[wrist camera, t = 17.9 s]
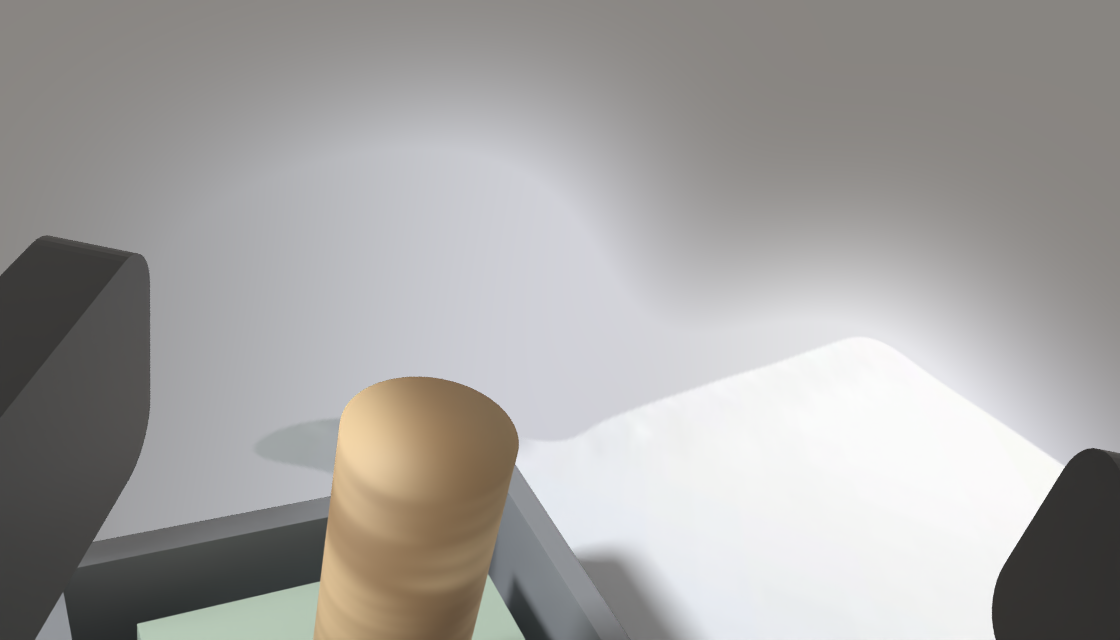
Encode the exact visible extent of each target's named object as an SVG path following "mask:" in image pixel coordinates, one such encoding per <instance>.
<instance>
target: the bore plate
mask: <svg viewBox="0 0 1120 640" xmlns="http://www.w3.org/2000/svg"><path fill="white" fill-rule="evenodd" d="M319 587H320V582H315V583H311V584H307V585H302V586H298V587H294V588H290V589H285V590H281V591H277V592H272V593H268V594H264V595H259V596H255V597H251V598H247V599H242V600H238V601H234V602H229V603H225V604H221V605H216V606H212V607H208V608H203V609H199V610H195V611H191V612H186V613H182V614H178V615H173V616H169V617H165V618H160V619H156V620H152V621H148V622H143V623H139V624H137V640H313V636H314V628H315V620H316V612H317V604H318V596H319ZM472 640H525V638H524V636H523V635H522V633H521V631H520V629H519V627H518V626H517V624H516V622H515V620H514V619H513V617H512V615H511V613H510V612H509V610H508V608H507V606H506V605H505V603H504V601H503V599H502V597H501V596H500V594H499V592H498V590H497V589H496V587H495V585H494V583H493V582H492V580H491V578H490V576H489V575H487V579H486V583H485V587H484V592H483V596H482V600H481V604H480V608H479V612H478V616H477V620H476V624H475V628H474V632H473V636H472Z"/></svg>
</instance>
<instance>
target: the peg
mask: <svg viewBox="0 0 1120 640" xmlns="http://www.w3.org/2000/svg"><path fill="white" fill-rule="evenodd" d="M518 448H519V440H518V435H517V432H516V429H515V426H514V424H513V422H512V421H511V419H510V417H509V416H508V415H507V414H506V412H505V411H504V410H503V409H502V408H501V407H500V406H499V405H497V404H496V403H495V402H494V401H493V400H491V399H490V398H488V397H487V396H485V395H484V394H482V393H480V392H478V391H476V390H474V389H472V388H470V387H467V386H464V385H462V384H459V383H456V382H452V381H448V380H443V379H438V378H431V377H403V378H396V379H391V380H386V381H383V382H379V383H377V384H374V385H372V386H370V387H368V388H366V389H364V390H363V391H361V392H360V393H358V394H357V395H356V396H355V397H353V399H352V400H351V401H350V402H349V403H348V404H347V406H346V407H345V409H344V411H343V414H342V415H341V420H340V426H339V434H338V442H337V450H336V458H335V466H334V474H333V483H332V491H331V498H330V507H329V515H328V523H327V531H326V539H325V547H324V555H323V563H322V571H321V579H320V587H319V596H318V604H317V612H316V620H315V628H314V636H313V640H472V636H473V632H474V628H475V624H476V620H477V616H478V612H479V608H480V604H481V600H482V596H483V592H484V587H485V583H486V579H487V575H488V571H489V567H490V563H491V559H492V555H493V551H494V547H495V543H496V539H497V535H498V531H499V527H500V522H501V518H502V514H503V510H504V506H505V502H506V498H507V494H508V490H509V486H510V482H511V478H512V474H513V470H514V466H515V462H516V457H517V453H518Z"/></svg>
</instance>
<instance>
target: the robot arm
mask: <svg viewBox="0 0 1120 640" xmlns="http://www.w3.org/2000/svg"><path fill="white" fill-rule="evenodd" d="M149 411H150V277H149V270H148V265H147V262H146V260H145V258H144V257H143V256H142V255H141V254H137V253H132V252H127V251H122V250H117V249H112V248H107V247H102V246H98V245H92V244H88V243H83V242H78V241H73V240H68V239H63V238H58V237H53V236H42V237H40V238H38V239H37V240H36V241H34V242H33V243H32V244H31V245H30V246H29V247H28V248H27V249H26V250H25V251H24V252H23V253H22V254H21V255H20V256H19V257H18V258H17V260H15V261H14V262H13V263H12V264H11V265H10V266H9V268H8V269H7V270H6V271H5V272H4V273H3V274H2V275H1V276H0V640H35V639H36V637H37V636H38V634H39V632H40V630H41V629H42V627H43V625H44V624H45V622H46V620H47V618H48V617H49V615H50V613H51V612H52V610H53V608H54V607H55V605H56V603H57V601H58V600H59V598H60V596H61V595H62V593H63V591H64V589H65V588H66V586H67V584H68V583H69V581H70V579H71V577H72V576H73V574H74V572H75V571H76V569H77V567H78V566H79V564H80V562H81V560H82V559H83V557H84V555H85V554H86V552H87V550H88V548H89V547H90V545H91V543H92V542H93V540H94V538H95V537H96V535H97V533H98V531H99V530H100V528H101V526H102V524H103V523H104V521H105V519H106V518H107V516H108V514H109V513H110V511H111V509H112V507H113V506H114V504H115V502H116V501H117V499H118V497H119V496H120V494H121V492H122V490H123V489H124V487H125V485H126V484H127V481H128V480H129V478H130V476H131V475H132V472H133V470H134V468H135V466H136V464H137V461H138V458H139V456H140V453H141V449H142V446H143V443H144V439H145V435H146V430H147V425H148V419H149ZM992 622H993V629H994V635H995V638H996V640H1120V453H1115V452H1110V451H1105V450H1100V449H1095V448H1091V449H1086V450H1083V451H1081V452H1080V453H1078V454H1077V455H1075V456H1074V457H1073V458H1072V459H1071V460H1070V461H1069V463H1068V464H1067V465H1066V466H1065V468H1064V469H1063V471H1062V473H1061V474H1060V476H1059V477H1058V479H1057V481H1056V482H1055V484H1054V485H1053V487H1052V489H1051V490H1050V492H1049V494H1048V495H1047V497H1046V498H1045V500H1044V502H1043V503H1042V505H1041V506H1040V508H1039V510H1038V511H1037V513H1036V514H1035V516H1034V518H1033V519H1032V521H1031V522H1030V524H1029V526H1028V527H1027V529H1026V530H1025V532H1024V534H1023V535H1022V537H1021V539H1020V540H1019V542H1018V543H1017V545H1016V547H1015V548H1014V550H1013V551H1012V553H1011V555H1010V556H1009V558H1008V559H1007V561H1006V563H1005V564H1004V566H1003V568H1002V570H1001V572H1000V574H999V576H998V579H997V582H996V586H995V589H994V595H993V603H992Z"/></svg>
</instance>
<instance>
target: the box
mask: <svg viewBox="0 0 1120 640" xmlns="http://www.w3.org/2000/svg"><path fill="white" fill-rule="evenodd" d="M330 498H331V496H330V497H325V498H319V499H314V500H309V501H304V502H299V503H294V504H288V505H283V506H278V507H272V508H267V509H262V510H257V511H252V512H247V513H241V514H236V515H231V516H226V517H221V518H216V519H211V520H205V521H200V522H195V523H189V524H185V525H179V526H174V527H169V528H163V529H158V530H154V531H148V532H143V533H137V534H132V535H127V536H122V537H117V538H111V539H106V540H102V541H96V542H92V543H91V545H90V547H89V548H88V550H87V552H86V554H85V555H84V557H83V559H82V560H81V562H80V564H79V566H78V567H77V569H76V571H75V572H74V574H73V576H72V577H71V579H70V581H69V583H68V584H67V586H66V588H65V589H64V591H63V593H62V595H61V596H60V598H59V600H58V601H57V603H56V605H55V607H54V608H53V610H52V612H51V613H50V615H49V617H48V618H47V620H46V622H45V624H44V625H43V627H42V629H41V630H40V632H39V634H38V636H37V637H36V639H35V640H137V624H139V623H143V622H148V621H152V620H156V619H160V618H165V617H169V616H173V615H178V614H182V613H186V612H191V611H195V610H199V609H203V608H208V607H212V606H216V605H221V604H225V603H229V602H234V601H238V600H242V599H247V598H251V597H255V596H259V595H264V594H268V593H272V592H277V591H281V590H285V589H290V588H294V587H298V586H302V585H307V584H311V583H315V582H320V579H321V571H322V563H323V555H324V547H325V539H326V531H327V523H328V515H329V507H330ZM488 575H489V576H490V578H491V580H492V582H493V583H494V585H495V587H496V589H497V590H498V592H499V594H500V596H501V597H502V599H503V601H504V603H505V605H506V606H507V608H508V610H509V612H510V613H511V615H512V617H513V619H514V620H515V622H516V624H517V626H518V627H519V629H520V631H521V633H522V635H523V636H524V638H525V640H630V639H629V637H628V636H627V634H626V633H625V631H624V630H623V628H622V627H621V625H620V623H619V622H618V620H617V619H616V617H615V616H614V614H613V613H612V611H611V610H610V608H609V607H608V605H607V604H606V602H605V601H604V599H603V598H602V596H601V595H600V593H599V591H598V590H597V588H596V587H595V585H594V584H593V582H592V581H591V579H590V578H589V576H588V575H587V573H586V572H585V570H584V569H583V567H582V566H581V564H580V562H579V561H578V559H577V558H576V556H575V555H574V553H573V552H572V550H571V549H570V547H569V546H568V544H567V543H566V541H565V540H564V538H563V537H562V535H561V533H560V532H559V530H558V529H557V527H556V526H555V524H554V523H553V521H552V520H551V518H550V517H549V515H548V514H547V512H546V511H545V509H544V508H543V506H542V505H541V503H540V501H539V500H538V498H537V497H536V495H535V494H534V492H533V491H532V489H531V488H530V486H529V485H528V483H527V482H526V480H525V479H524V477H523V476H522V474H521V472H520V471H519V469H518V468H517V466H516V465H515V466H514V470H513V474H512V478H511V482H510V486H509V490H508V494H507V498H506V502H505V506H504V510H503V514H502V518H501V522H500V527H499V531H498V535H497V539H496V543H495V547H494V551H493V555H492V559H491V563H490V567H489V571H488Z"/></svg>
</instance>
